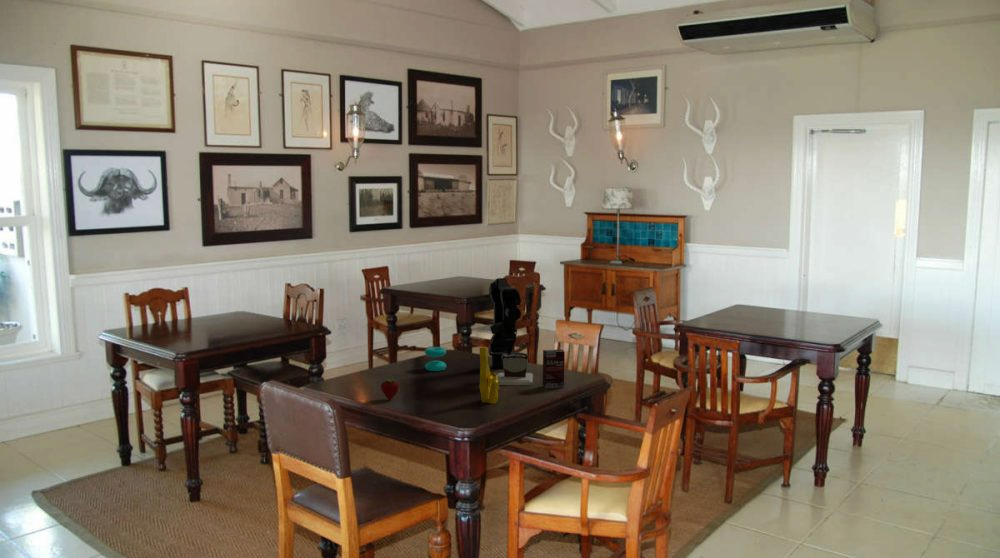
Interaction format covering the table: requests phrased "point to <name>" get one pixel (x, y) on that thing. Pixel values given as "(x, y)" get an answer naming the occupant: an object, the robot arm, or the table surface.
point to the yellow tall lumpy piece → (487, 379)
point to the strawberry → (390, 388)
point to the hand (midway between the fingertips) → (509, 352)
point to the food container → (515, 364)
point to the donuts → (435, 353)
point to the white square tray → (515, 380)
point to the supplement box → (553, 368)
